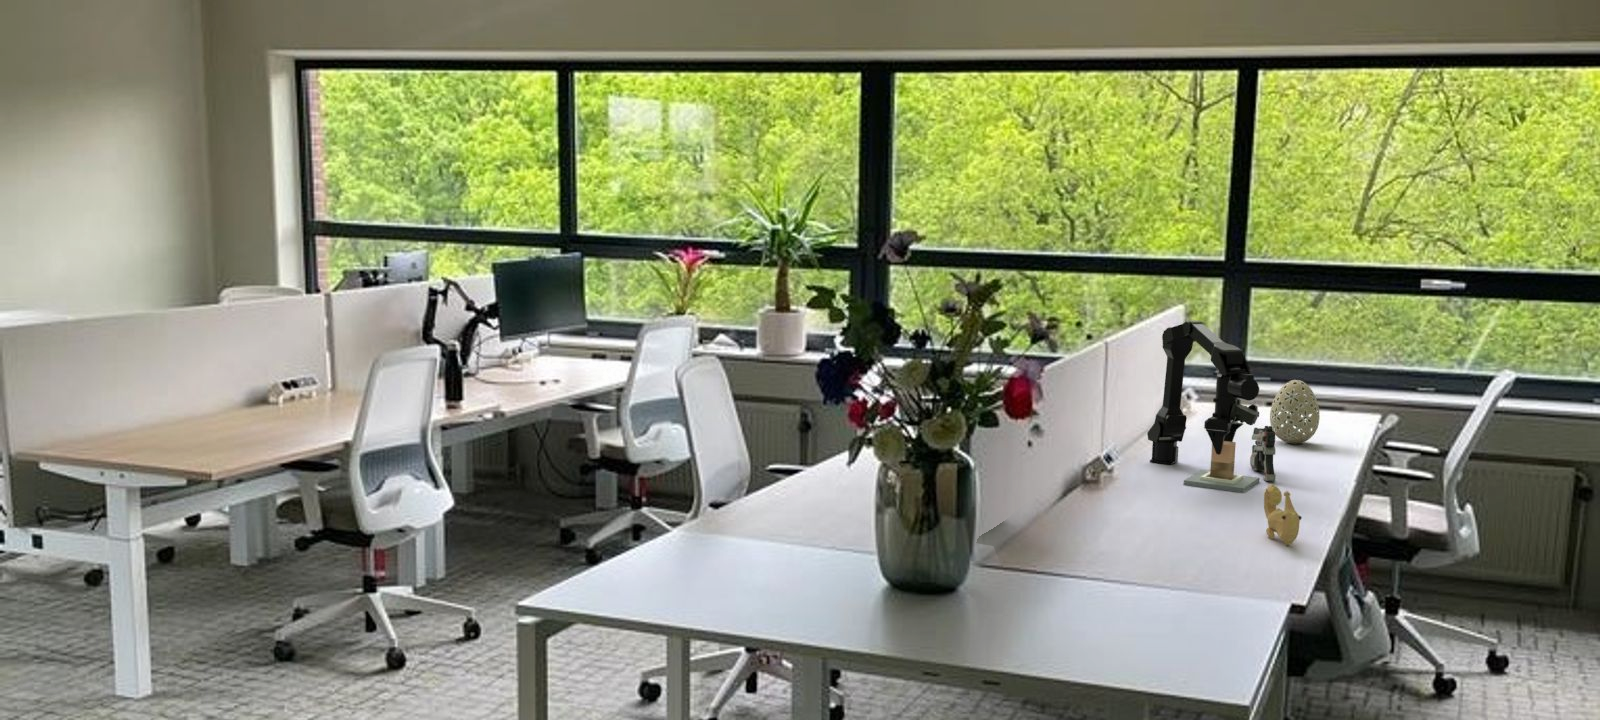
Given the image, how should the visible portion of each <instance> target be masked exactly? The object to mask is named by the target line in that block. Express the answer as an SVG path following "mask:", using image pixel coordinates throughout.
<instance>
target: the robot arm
mask: <svg viewBox="0 0 1600 720" xmlns="http://www.w3.org/2000/svg"><path fill="white" fill-rule="evenodd" d="M1161 339H1162V349H1163V351H1164V353H1165V355H1166V368H1165V378H1164V388H1163V389H1164V390H1163V398H1162V406H1161V407H1160V409H1159V410H1158V412H1157V413H1156V414H1155V419H1154V423H1153V425H1152V426H1151V427H1150V428H1149V430H1148V431H1147V439H1148V441H1151V442H1152V450H1151V451H1152V452H1151V459H1149V463H1150V462H1151V463H1158V464H1164V465H1165V464H1166V465H1173V464H1174V463H1177V462H1178V461H1179V446H1178V442H1179V443H1180V442H1183V438H1184V435H1185V432H1186V429H1187V426H1186V425H1187V418H1188V417H1187V415H1186V414H1184V413H1183V410H1182V409H1181V404H1182V393H1183V386H1184V385H1183V384H1184V383H1183V382H1184V375H1185V374H1184V373H1185V363H1186V359H1187V357H1188V356H1189V355H1190V353H1191V352H1192V350H1193V346H1194V343H1195V342H1196V343H1197V344H1198V345H1199V346H1200V347H1201V348H1202V349H1203V350H1205V351H1206V352H1207V354H1209V355H1210V362H1211V363H1212V364H1213V366H1214V367H1215V368H1216V370H1215V371H1214V372H1213V373H1212V375H1213V376H1214V377H1216V385H1215V397H1214V398H1212V399H1213V403H1214V412H1213V413H1212V416H1211V417H1208V418H1207V419H1206V420H1205V421H1204V426H1203V429H1205V431H1206V433H1207V435H1208V436H1209V439H1210V441H1211V442H1210V443H1211V445H1212V444H1213V447H1214V449H1215V452H1216V454H1219V455H1220V454H1221V452H1222V447H1223V443H1224V441H1229V442H1234V438H1235V436H1236V432H1237V430H1238V429H1239V428H1241V426H1243V425H1244V423H1246V424H1247V425H1249V426H1253V425H1255V424H1256V422H1257V420H1258V418H1259V417H1260V411H1259V409H1258V408H1259V407H1258V405H1256V404H1254V403H1253V404H1250V405H1249V406H1247V405H1243V404H1241V401H1242V400H1244V401H1249V402H1250V401H1253V400H1255V399H1256V398H1257V397H1258V396H1259V394H1260V387H1259V383H1258V382H1257V380H1255V379H1254V374H1252V372H1251V371H1250V369H1251V368H1250V366H1249V363H1248V362H1247V359H1246V357H1245V354H1244V351H1243V350H1242V349H1241V348H1240V347H1237V346H1236V345H1233V344H1230V343H1226V342H1224V341H1223V340H1222V339H1221V338H1219V336H1217V335H1216V333H1214V332H1213V331H1212V330H1211V329H1209V328H1208V327H1207V326H1206V324H1205V322H1204V321H1201V320H1187V321H1185V322H1183V323H1181V324H1178V325H1175V326H1171V327H1166V329H1164V330H1163V333H1162V337H1161Z"/></svg>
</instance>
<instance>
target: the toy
mask: <svg viewBox="0 0 1600 720" xmlns="http://www.w3.org/2000/svg"><path fill="white" fill-rule="evenodd" d="M1263 496H1264V497H1263V498H1264V499H1263V509H1264V513H1265V517H1266V519H1267V528H1266V530H1265V532H1266V535H1267V537H1268V538H1269V539H1270V540H1273V539H1275V537H1276V536H1275V535H1276V534H1277V536H1278V537H1279V539H1280V540H1281V541H1282V542H1283V543H1284V545H1286V546H1287V545H1288V546H1291V544H1292V543H1293V542H1294V541H1295V540H1296V539H1297V538H1298V535H1299V530H1300V522H1301V520H1302V516H1301V515H1299V514H1298V512H1297V511H1296V510H1295V508H1294V505H1293V503H1292V499H1291V497H1290V496H1291V492H1289V491H1288V490H1285V491H1284V492H1283V496H1284V497H1285V498H1284V499H1285V500H1284V510H1282V509H1281V508H1280V507H1278V508H1277V506H1278V505H1280V504H1281V503H1282V499H1283V496H1282V491H1281V490H1280V489H1279V488H1278V486H1276V485H1275V484H1274V483H1271V484H1270V485H1267V487H1266V489H1265V491H1264V495H1263Z"/></svg>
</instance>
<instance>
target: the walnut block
mask: <svg viewBox="0 0 1600 720" xmlns="http://www.w3.org/2000/svg"><path fill="white" fill-rule="evenodd" d="M1235 462H1236V461H1235V460H1234V461H1233V462H1231V463H1222V462H1213V461H1211V460H1210V468H1209V469H1210V470H1209V471H1210V477H1212V478H1220V479H1228V480H1232V479H1234V474H1235Z"/></svg>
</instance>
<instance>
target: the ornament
mask: <svg viewBox="0 0 1600 720" xmlns="http://www.w3.org/2000/svg"><path fill="white" fill-rule="evenodd" d="M1317 400H1318V399H1317V398H1316V395H1315V393H1314V391H1313V390H1312V388H1311V387H1310V386H1309V384H1307V383H1306V382H1304V381H1303V380H1300V379H1292V380H1289V381H1288V382H1286V383H1285V384H1284V385H1283V386H1282V387H1280V389H1279V390H1278V392H1277V393H1276V394H1275V397H1274V399H1273V401H1272V403H1271V407H1270V413H1269V422H1270V426H1272V429H1273V431H1274V432H1275V437H1277V438H1278V440H1281V441H1283V442H1286V443H1288V444H1293V445H1294V444H1302V443H1305V442H1307V441H1309V440H1310V439H1312V438H1313V436H1314V435H1315V434H1316V432H1317V431H1318V430H1317V429H1318V428H1319V424H1320V416H1321V415H1320V407H1319V403H1318V401H1317Z"/></svg>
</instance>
